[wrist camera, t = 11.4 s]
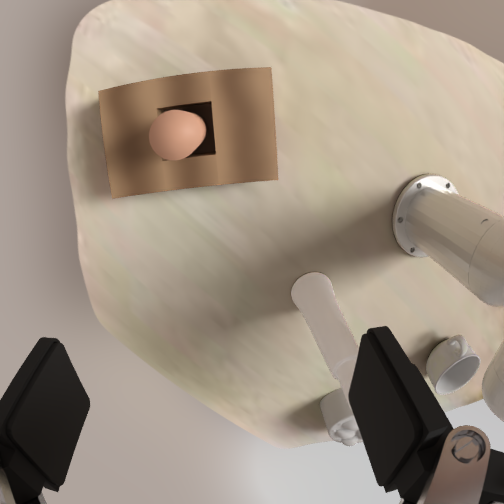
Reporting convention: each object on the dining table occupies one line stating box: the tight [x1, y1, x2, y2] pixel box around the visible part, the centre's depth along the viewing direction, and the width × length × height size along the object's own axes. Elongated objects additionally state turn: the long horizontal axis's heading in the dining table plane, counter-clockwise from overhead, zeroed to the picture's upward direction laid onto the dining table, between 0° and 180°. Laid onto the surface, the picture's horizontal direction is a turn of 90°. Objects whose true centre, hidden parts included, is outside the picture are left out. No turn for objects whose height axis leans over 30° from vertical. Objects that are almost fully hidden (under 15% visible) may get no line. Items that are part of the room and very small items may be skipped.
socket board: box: [98, 67, 278, 199], centre depth 32 cm, size 18×12×5 cm, turn 94°
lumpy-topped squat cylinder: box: [320, 388, 363, 446], centre depth 52 cm, size 10×13×9 cm
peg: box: [149, 110, 208, 160], centre depth 28 cm, size 4×4×12 cm
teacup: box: [426, 335, 480, 395], centre depth 50 cm, size 14×11×8 cm
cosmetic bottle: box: [291, 272, 359, 410], centre depth 34 cm, size 6×6×22 cm
